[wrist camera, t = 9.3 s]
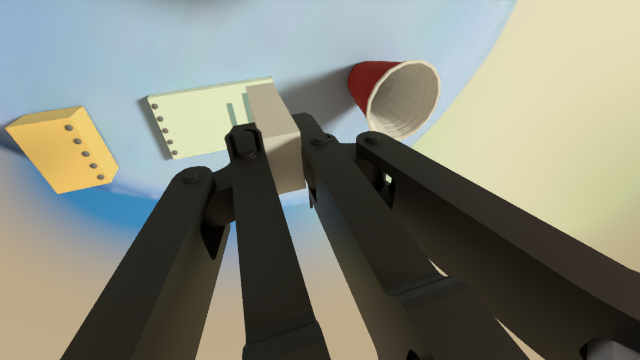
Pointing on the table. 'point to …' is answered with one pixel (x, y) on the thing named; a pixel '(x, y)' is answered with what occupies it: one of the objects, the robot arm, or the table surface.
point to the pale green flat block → (202, 115)
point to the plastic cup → (395, 95)
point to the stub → (65, 148)
